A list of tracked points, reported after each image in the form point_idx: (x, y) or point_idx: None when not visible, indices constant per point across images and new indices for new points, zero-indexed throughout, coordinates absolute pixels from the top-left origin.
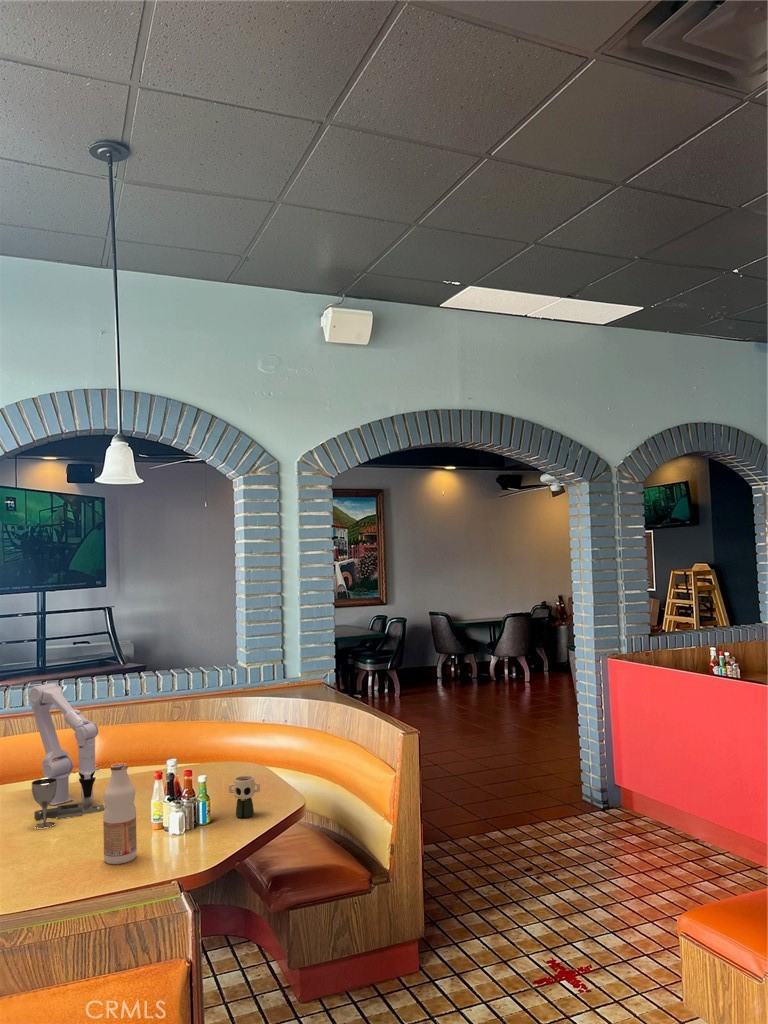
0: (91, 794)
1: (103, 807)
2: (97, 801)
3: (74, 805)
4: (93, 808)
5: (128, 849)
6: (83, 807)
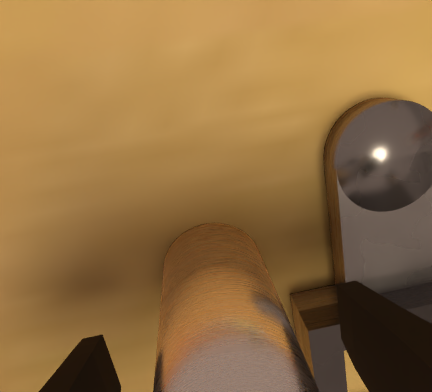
0: (263, 291)
1: (409, 101)
2: (89, 207)
3: (343, 367)
4: (427, 192)
5: None
6: None
